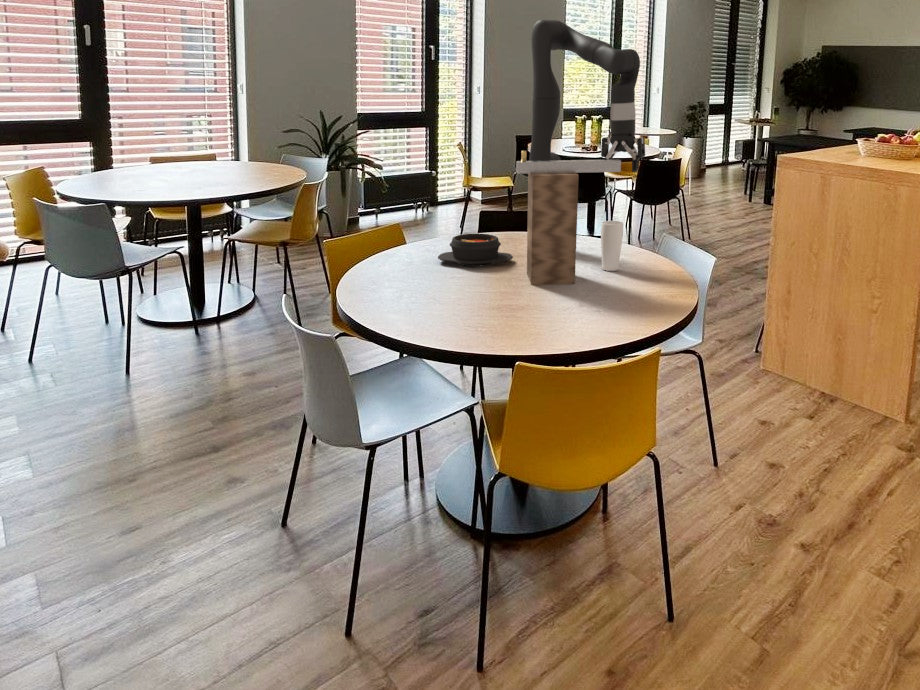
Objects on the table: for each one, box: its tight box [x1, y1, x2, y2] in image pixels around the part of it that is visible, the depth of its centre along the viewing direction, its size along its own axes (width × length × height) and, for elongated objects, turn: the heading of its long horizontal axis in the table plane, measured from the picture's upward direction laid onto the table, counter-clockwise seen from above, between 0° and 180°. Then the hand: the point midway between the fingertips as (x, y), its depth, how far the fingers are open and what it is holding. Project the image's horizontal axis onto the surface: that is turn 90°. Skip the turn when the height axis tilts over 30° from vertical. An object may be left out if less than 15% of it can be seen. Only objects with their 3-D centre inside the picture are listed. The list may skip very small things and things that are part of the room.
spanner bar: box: [515, 150, 622, 175], centre depth 231 cm, size 30×3×6 cm, turn 91°
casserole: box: [437, 233, 514, 267], centre depth 263 cm, size 25×19×8 cm
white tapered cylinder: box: [600, 220, 624, 272], centre depth 250 cm, size 7×7×15 cm
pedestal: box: [526, 173, 579, 286], centre depth 237 cm, size 13×13×32 cm
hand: (622, 171), depth 250 cm, fingers open, 8 cm apart
